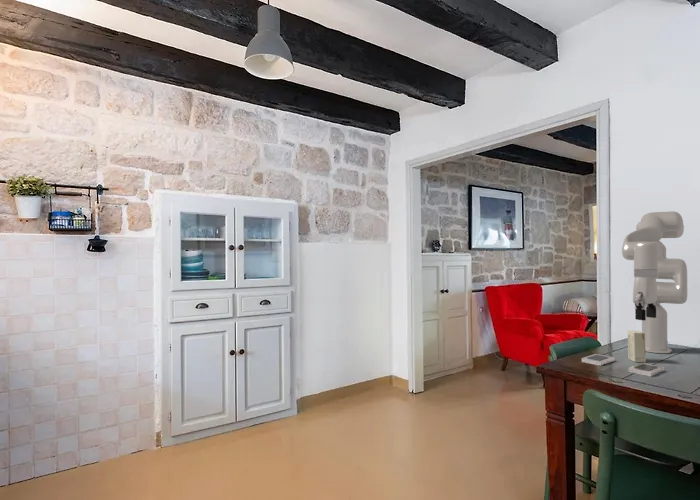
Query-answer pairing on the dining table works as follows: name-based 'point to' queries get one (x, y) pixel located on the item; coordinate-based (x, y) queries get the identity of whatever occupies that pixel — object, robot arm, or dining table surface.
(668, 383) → the dining table surface
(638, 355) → the skincare box
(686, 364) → the dining table surface
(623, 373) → the dining table surface
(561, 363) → the dining table surface
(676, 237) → the robot arm
